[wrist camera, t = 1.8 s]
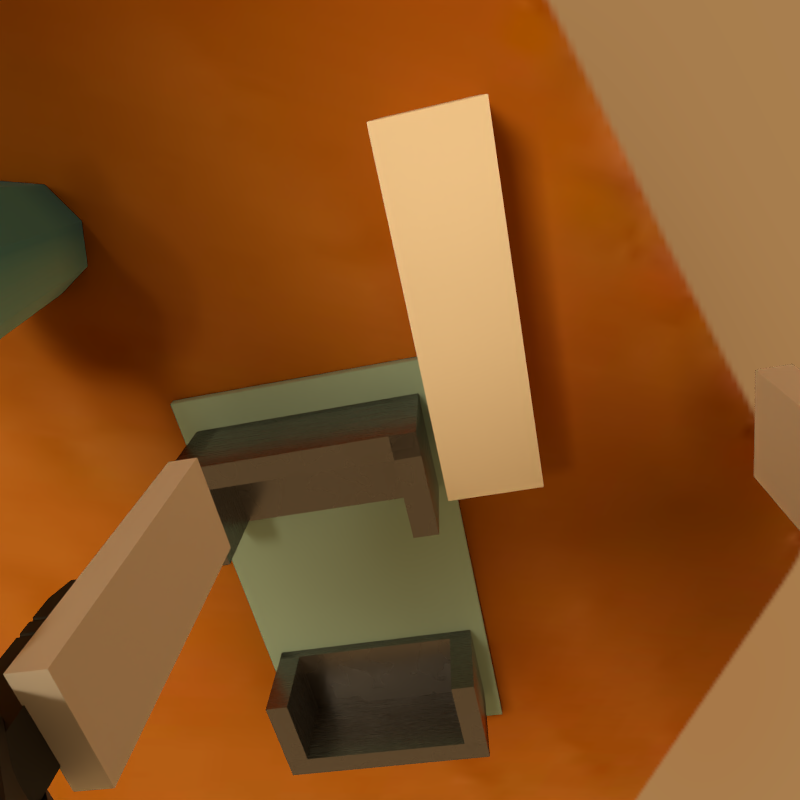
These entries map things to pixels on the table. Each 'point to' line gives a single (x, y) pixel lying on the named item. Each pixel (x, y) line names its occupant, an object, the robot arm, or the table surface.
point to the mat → (348, 538)
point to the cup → (35, 250)
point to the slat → (460, 292)
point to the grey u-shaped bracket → (320, 464)
